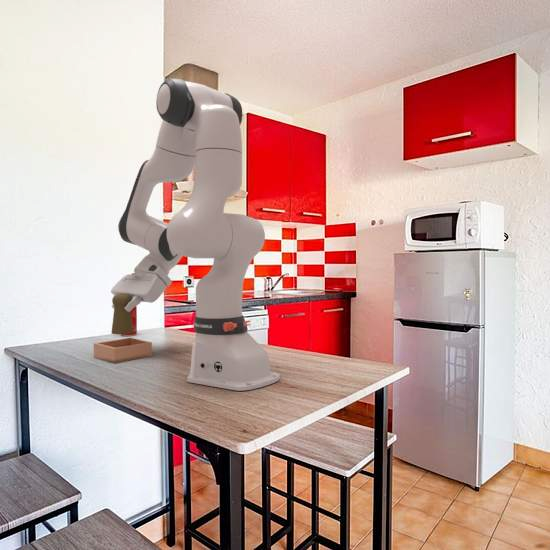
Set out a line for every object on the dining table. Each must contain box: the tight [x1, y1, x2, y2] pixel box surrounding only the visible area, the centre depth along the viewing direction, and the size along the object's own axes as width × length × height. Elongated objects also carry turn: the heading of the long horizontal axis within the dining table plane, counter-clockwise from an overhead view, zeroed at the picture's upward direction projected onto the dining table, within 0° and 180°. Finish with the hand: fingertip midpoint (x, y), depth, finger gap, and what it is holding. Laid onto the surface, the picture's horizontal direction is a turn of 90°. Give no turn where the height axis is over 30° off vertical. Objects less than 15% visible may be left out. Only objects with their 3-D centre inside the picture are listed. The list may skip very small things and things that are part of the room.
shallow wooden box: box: [93, 337, 153, 364], centre depth 125 cm, size 12×12×4 cm
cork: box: [111, 294, 134, 335], centre depth 125 cm, size 6×6×11 cm
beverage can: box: [120, 305, 138, 337], centre depth 160 cm, size 6×6×15 cm
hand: (120, 309), depth 124 cm, fingers closed on cork, 5 cm apart
